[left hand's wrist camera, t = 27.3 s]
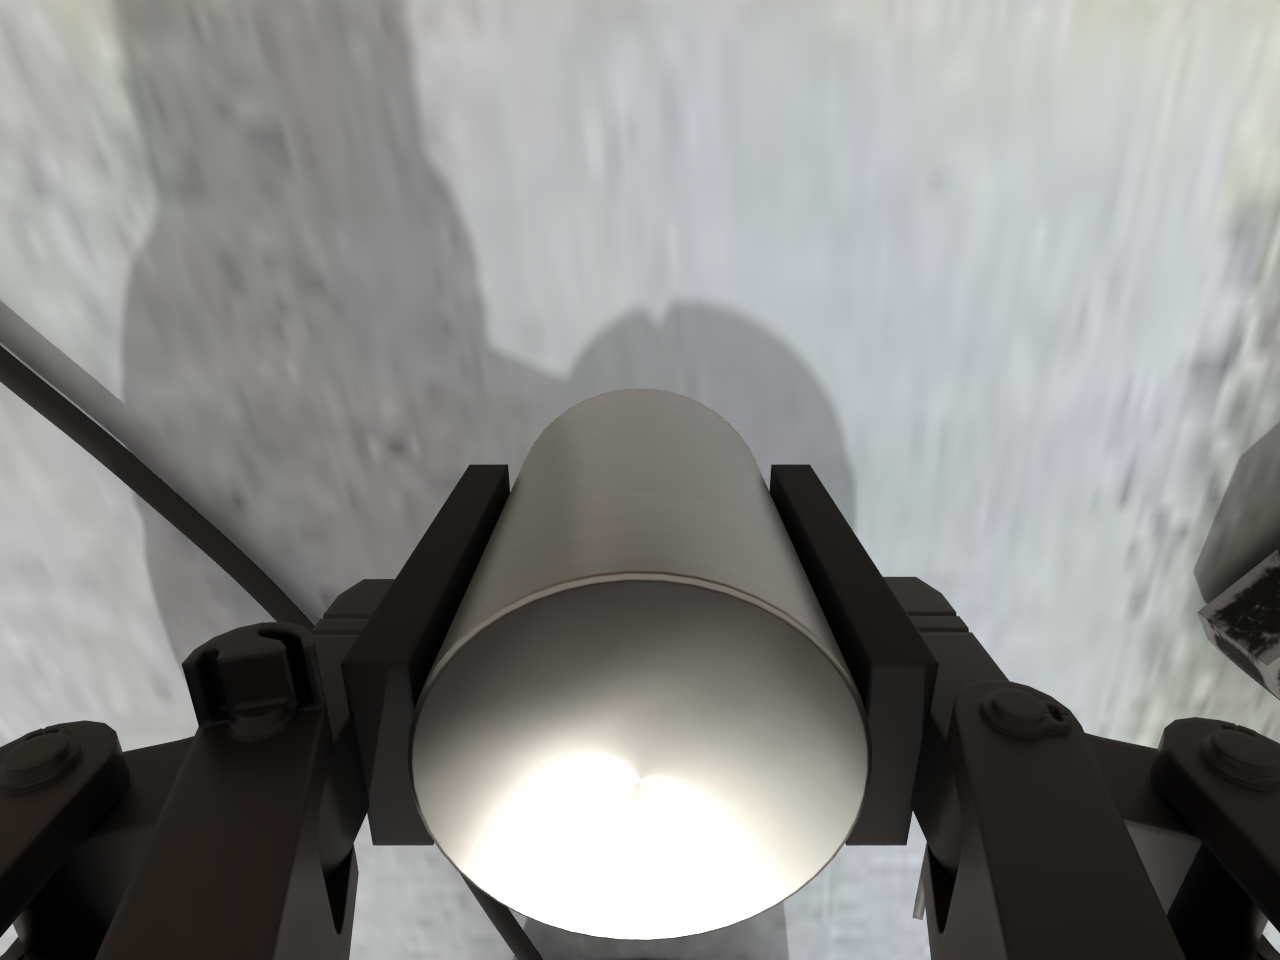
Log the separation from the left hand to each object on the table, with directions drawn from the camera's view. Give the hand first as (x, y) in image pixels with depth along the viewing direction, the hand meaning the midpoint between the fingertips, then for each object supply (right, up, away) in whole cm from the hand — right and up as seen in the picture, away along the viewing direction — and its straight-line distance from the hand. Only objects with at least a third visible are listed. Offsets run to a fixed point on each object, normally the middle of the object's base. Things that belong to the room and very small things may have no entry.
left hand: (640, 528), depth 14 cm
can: (0, 0, +1) cm, 1 cm away
